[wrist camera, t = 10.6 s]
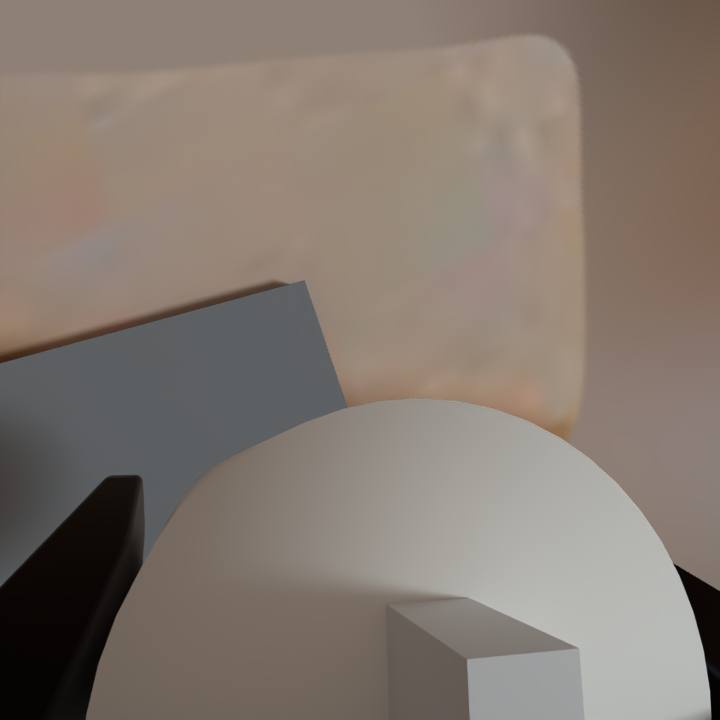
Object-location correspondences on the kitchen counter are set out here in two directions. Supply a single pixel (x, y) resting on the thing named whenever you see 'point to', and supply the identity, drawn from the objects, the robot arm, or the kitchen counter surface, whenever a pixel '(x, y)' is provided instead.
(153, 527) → the desk mat
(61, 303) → the kitchen counter surface
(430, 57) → the kitchen counter surface
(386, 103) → the kitchen counter surface
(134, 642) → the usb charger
